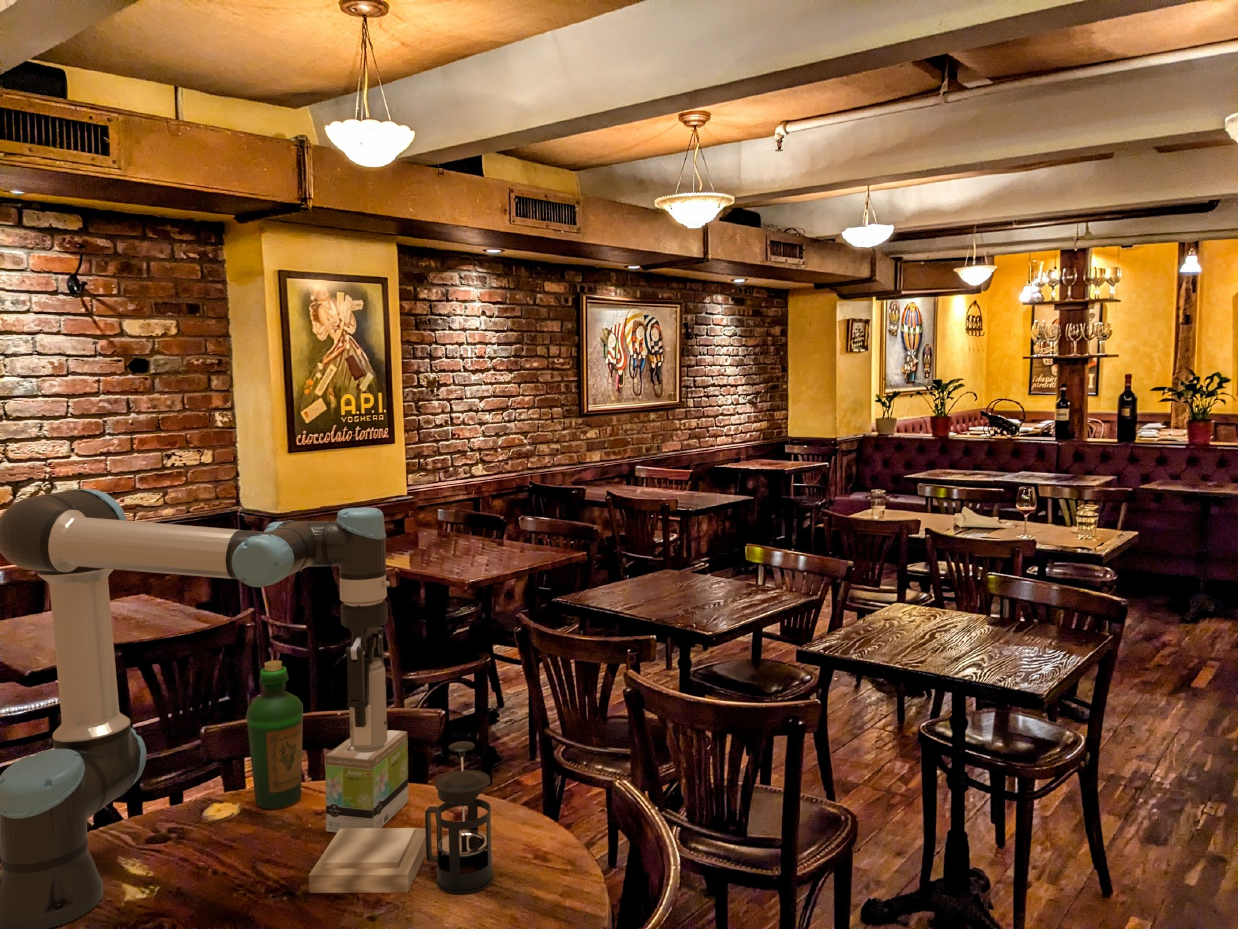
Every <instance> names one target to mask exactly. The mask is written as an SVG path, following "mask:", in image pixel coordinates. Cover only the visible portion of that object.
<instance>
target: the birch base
mask: <svg viewBox="0 0 1238 929" xmlns="http://www.w3.org/2000/svg"><path fill="white" fill-rule="evenodd" d="M425 857H426V829H425V827H423V828H420V827H382V828H347V829H339V831H338V832H337V833H335V835H334V837H333V838H332V840H331V841H330V843H329V844H328V846H327V847H326V849H325V850H324V852H323V853H322V854H321V856H320V858H318V860H317V862H316V864H315V865H314V866H313V868H312V869H311V871H310V873H309V874H308V888H309V889H308V890H309V894H319V893H320V894H326V893H327V894H331V893H332V894H334V893H335V894H336V893H337V894H343V893H344V894H350V893H352V894H354V893H355V894H356V893H359V894H360V893H361V894H362V893H363V894H364V893H366V894H367V893H369V894H370V893H372V894H373V893H379V894H381V893H382V894H383V893H389V894H390V893H392V894H394V893H397V894H398V893H403V894H404V893H409V892H408V891H410V890H411V887H412V885H413V883H414V881H413V880H415V878H416V876H417V874H418V872H419V869H420V867H421V865H422V863H423V860H424V858H425Z"/></svg>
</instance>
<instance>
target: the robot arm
mask: <svg viewBox="0 0 1238 929" xmlns="http://www.w3.org/2000/svg"><path fill="white" fill-rule="evenodd" d="M125 513H126V512H125V511H124V509H123V508H122V506H121V505H120V503H119V502H118V500H116V499H114V498H113V497H112V496H110V495H109V494H108V493H106V492H104V491H101V490H98V489H93V488H92V489H91V488H81V489H80V488H79V489H78V488H74V489H67V490H66V489H65V490H62V491H58V492H57V491H56V492H52V493H46V494H43V495H35V496H30V497H25V498H23V499H20V500H18V501H16V502H14V503H13V504H11V505H10V506H9V507H8V508H6V510H5V509H4V512H3V513H1V516H0V554H1V555H2V556H3V558H4V559H5V560H6V561H7V562H9V563H11V564H12V565H13V566H16V567H18V568H21V569H24V570H28V571H37V573H36V574H37V576H38V577H40V578H41V579H42V580H44V581H45V582H47V583H48V585H49V596H50V606H51V617H52V628H53V638H54V649H55V650H54V651H55V659H56V660H55V661H56V671H57V672H56V673H57V682H58V694H59V695H58V696H59V706H60V716H61V724H59V726H58V727H57V728H56V729H55V731H54V732H53V733H52V743H53V745H52V746H53V748H52V749H47V750H43V751H38V752H36V753H35V754H34V755H27V756H25V757H22V758H21V759H18V760H16V761H15V762H14V763H12V764H10V765H9V766H8V767H7V768H6V769H4V770H3V772H2V773H1V774H0V865H1V866H0V868H1V870H0V929H50V928H52V927H55V928H57V927H56V926H58V927H60V925H61V926H63V925H65V924H69V923H72V922H73V921H75V920H77V919H80V918H81V917H83V916H84V915H86V914H88V913H89V912H91V911H92V910H93V909H94V908H96V907H97V905H98V904H99V903H100V902H101V900H102V899H103V897H104V883H103V878H102V876H101V874H100V873H99V870H98V868H97V866H96V863H95V861H94V859H93V857H92V854H91V853H90V850H89V842H88V823H87V822H88V820H89V819H90V818H91V817H93V816H94V815H96V813H98V812H100V811H101V810H102V809H103V808H105V807H106V806H107V805H109V804H110V803H111V802H113V801H114V800H117V799H118V798H121V796H123V795H124V794H125V793H126V792H128V790H129V789H131V787H132V786H133V785H134V784H136V782H137V781H138V780H139V778H141V776H142V774H143V771H144V769H145V767H146V762H147V749H146V748H147V747H146V744H145V742H144V740H143V738H142V736H141V735H138V734H137V730H135V729H134V728H132V726H131V719H130V718H129V717H128V716H126V715H124V714H123V713H121V711H120V705H119V692H118V682H117V681H118V680H117V671H116V670H117V668H116V658H115V647H114V631H113V623H112V622H113V621H112V611H111V599H110V598H111V596H110V586H109V576H110V574H111V573H112V572H113V571H114V570H119V571H120V570H121V571H131V572H142V573H143V572H144V573H154V574H155V573H157V574H168V575H169V574H170V575H171V574H172V575H182V576H197V577H208V578H221V579H230V580H231V579H233V580H239V581H240V582H242V583H243V584H245V585H247V586H249V587H252V588H253V587H254V588H263V587H266V586H272V585H275V584H278V583H279V582H281V581H283V580H285V578H287V577H289V576H291V575H294V574H296V573H297V572H299V571H302V570H304V569H305V568H308V567H338V569H339V570H338V571H339V574H338V575H339V600H340V601H341V602H342V603H341V605H340V623H341V626H342V627H344V628H347V629H350V630H351V631H352V635H351V636H352V637H351V638H350V642H349V646H346V648H345V654H346V664H347V666H346V668H347V669H346V670H347V677H346V678H347V703H346V708H349V707H353V731H354V745H371V743H372V739H371V709H370V705H368V696H369V669H370V664H372V663H373V658H374V657H380V658H381V662H382V664H383V665H384V666H385V659H384V656H385V654H384V627H383V626H384V625H386V624H387V622H388V620H389V613H388V612H389V610H388V601H386V600H385V599H386V598H387V596H388V592H387V589H388V588H387V587H390V584H391V582H390V581H389V580H387V562H386V561H387V560H386V559H387V557H386V554H387V552H386V550H387V549H386V548H387V547H386V546H387V544H386V542H387V541H386V539H387V534H386V527H385V518H384V513H383V511H382V510H381V509H379V508H375V507H365V506H364V507H348V508H343V509H341V510H339V511H338V512H337V517H336V519H335V520H330V521H329V520H328V521H326V520H322V521H317V520H313V521H311V520H310V521H309V520H301V521H300V520H294V519H293V520H285V521H273V522H271V523H269V524H268V525H267V526H266V529H265V530H264V531H258V530H257V531H256V530H243V529H235V528H223V527H222V528H221V527H220V528H219V527H211V526H210V527H208V526H196V525H195V526H194V525H187V524H186V525H183V524H174V523H173V524H172V523H162V522H161V523H159V522H147V521H135V520H134V521H133V520H127V517H126V514H125ZM364 658H368V659H364ZM52 929H53V928H52Z"/></svg>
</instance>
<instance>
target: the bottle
mask: <svg viewBox="0 0 1238 929" xmlns="http://www.w3.org/2000/svg"><path fill="white" fill-rule="evenodd" d="M282 663H283V661H282V660H275V659H274V660H269V661H266V662H264V668H262V669H261V670H260V674H259V675H260V676H259V680H258V682H259V684H260V685H262V686H261V687H262V692H263V693H262V694H260V695H259V696H257V697H256V698H255V699H253V700H252V701H251V703H250V705H249V707H248V708H247V711H246V713H245V716H246V723H247V724H246V725H247V735H248V744H249V745H248V746H249V754H250V763H251V772H252V773H251V774H252V781H253V793H254V801H255V805H257V806H258V807H260V808H262V809H267V808H268V809H270V810H276V808H277V809H283V808H286V807H289V806H292V805H293V804H295V803H296V802H298V801H300V800H301V797H302V779H303V778H302V777H303V776H302V772H303V771H302V770H303V769H302V767H303V764H302V762H303V730H304V729H303V725H304V724H303V722H304V721H303V720H304V717H303V716H304V703H303V702H302V701H301V699H300V697H298V696H296V695H294V694H293V693H291V692H288V691H286V682H288V681H289V675H288V671H287V667H286V666H284V665H282Z"/></svg>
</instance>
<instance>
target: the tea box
mask: <svg viewBox="0 0 1238 929" xmlns="http://www.w3.org/2000/svg"><path fill="white" fill-rule="evenodd" d="M408 742H409V741H408V731H404V730H393V729H392V730H391V729H389V730H388V729H387V742H386V743H385V744H384V747H383V748H382V749H380V750H378V751H375V752H369V753H361V752H357V751H355V750H354V747H353V746H351V744H350V737H349V738H347V739H346V740H345V741H344V742H342V743H341V744H339V745H338V746H337V747H335V748H333V749H332V750H331V751H330V752H328V753H327V754H325V764H324V765H325V831H326V832H329V833H330V832H331V833H335V834H337V832H338V831H339V829H347V828H383V827H384V825H386V824H388V822H389V821H390V820H391V819H392V818H393V817H394V816H395V815H396V814H397V813H398V812H399V811H400V810H402V808H403V807H404V806H406V805H407V804H408V802H409V755H408V754H409V753H408V752H409V750H408V746H409V745H408V744H409V743H408ZM406 803H407V804H406ZM405 804H406V805H405Z"/></svg>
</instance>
